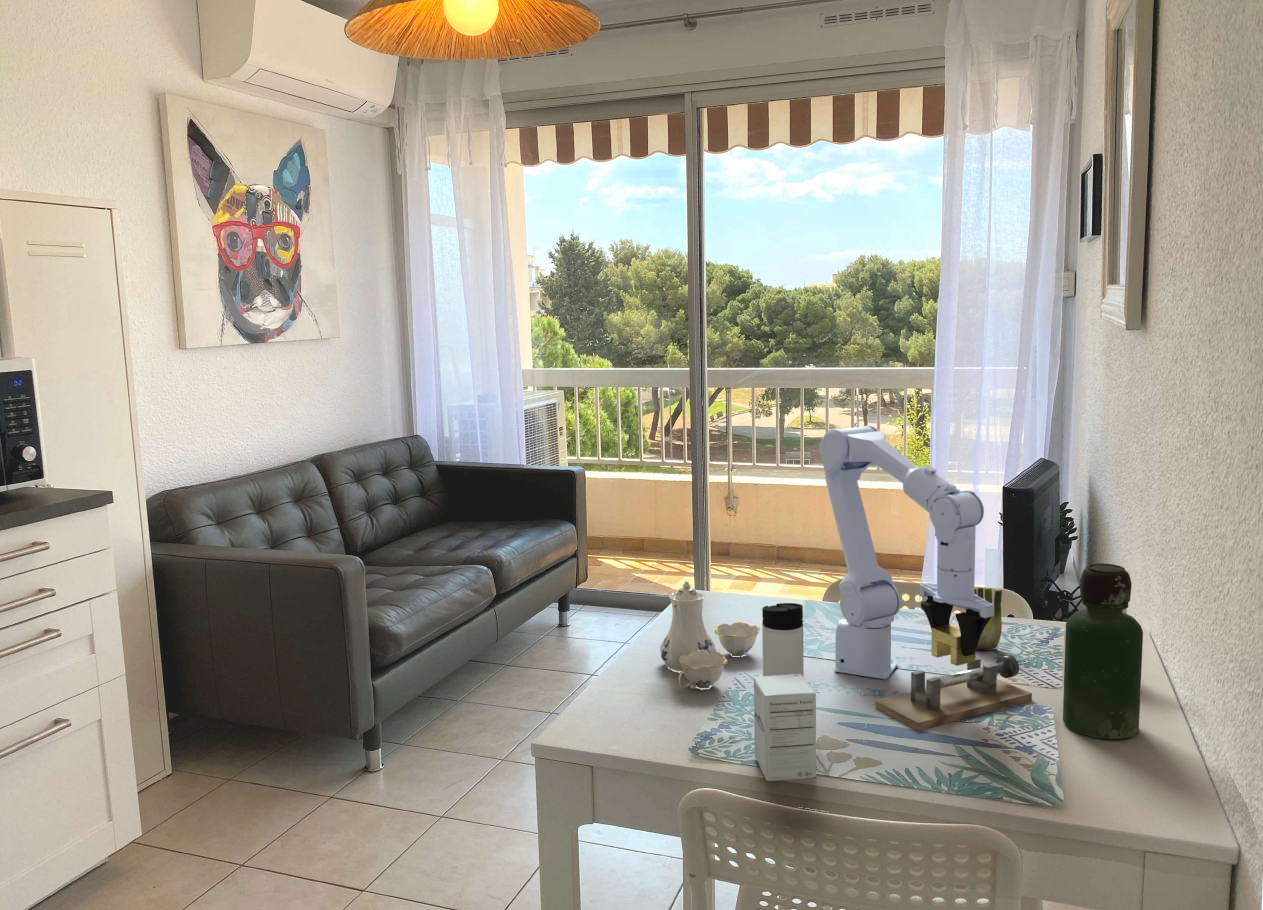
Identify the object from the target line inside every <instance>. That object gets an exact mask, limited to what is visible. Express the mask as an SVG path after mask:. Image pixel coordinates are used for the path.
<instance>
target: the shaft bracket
mask: <svg viewBox="0 0 1263 910" xmlns="http://www.w3.org/2000/svg"><path fill="white" fill-rule="evenodd" d="M995 664H996V663H989V664H985V665H982V659H981V658H979V657H976V656H975V662H970V663H966V665H967V666H966V671H967V670H971V669H975V668H980V667H983V678H982V679H978V680H974V681H970V682H966V683H962V684H958V685H954V686H950V687H946V688H941V679H940V678H938V677H937V676H934V677H930V678H926V672H925V671H923V670H921V669H919V670H915V671H911V672H910V692H906V693H903V694H897V695H894V696H889V697H886V698H882V699H877V700H875V701H874V703H875V705H874V707H875V709H876V710H879V711H881V712H882V713H883V714H886V715H888V716H889V717H891V718H894V719H896V720H897V721H899V722H901V723H903V724H905V725H906V726H908V727H910V728H912V729H913V730H916V731H921V730H925V729H929V728H932V727H937V726H939V725H943V724H948V723H951V722H954V721H958V720H959V721H960V720H963V719H966V718H970V717H973V716H977V715H981V714H986V713H988V712H993V711H997V710H1000V709H1004V708H1008V707H1011V706H1015V705H1019V704H1023V703H1027V702H1031V701H1033V693H1032V692H1029V691H1027V690H1025V689H1023V688H1020V687H1018V686H1016V685H1013V684H1010V683H1008V682H1005V681H1003V680H1001V679H998V675H997V665H995Z"/></svg>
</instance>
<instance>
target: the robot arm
mask: <svg viewBox="0 0 1263 910" xmlns="http://www.w3.org/2000/svg"><path fill="white" fill-rule="evenodd" d="M886 437H887V436H886V434H885V433H884V432H882V431H880V430H879V429H878V428H877V427H876V426H874V425H871V424H870V425H869V424H868V425H863V426H855V427H847V428H840V429H839V428H838V429H837V428H831V429H829V430H827V431H826V432H825V433H824V435H823V437H822V439H821V441H820V443H819V445H818V449H819V453H820V454H819V455H820V457H821V462H822V465H823V471H824V476H825V477H824V478H825V483H826V487H827V490H828V495H829V499H830V502H831V507H832V513H833V516H834V520H835V524H836V528H837V532H838V536H839V540H840V544H841V548H842V549H841V550H842V553H843V557H844V561H845V565H846V568H847V572H846V574H845V576H844V577H843V578H842V580H841V581H840V583H839V584H838V588H839V593H840V598H839V606H840V611H841V613H842V616H843V617H844V618H841V619H840V620H839V621H838V622H837V626H836V630H835V667H834V670H833V671H834V672H835V673H842V674H848V675H849V674H850V675H855V676H856V675H857V676H863V677H868V678H874V679H879V680H880V679H881V680H887V679H888V678H889V676H890V675H891V674H893V671H894V670H895V669H896V668H897V667H898V663H897V662H895V661H892V622H894V621H895V616H896V615H897V614H898V613H899V612H900V610H901V606H902V599H901V594H900V592H899V590H898V589H897V587H896V585H895V584H894V580H893V578H892V575H891V574H890V573H889V572H888V571H887V570H885V569H884V568H882V567H881V566H879V563H878V560H877V555H876V551H875V548H874V544H873V539H872V536H871V531H870V526H869V523H868V519H867V514H866V511H865V506H864V503H863V500H862V499H863V498H862V496H861V495H862V494H861V491H860V487H859V482H858V481H859V479H860V477H861V475H862V474H863V473H865V471H866V470H867V469H868V468H869V467H870V466H872V464H874V465H875V466H877V467H879V469H881V470H883V472H886V473H887V474H889V475H890V476H892V477H893V478H895V480H896V481H899V482H900V483H902V490H903V492H904V494H905V495H906V496H907V497H909V498H910V499H912V501H913V502H915V503H916V504H917V505H919V506H920V507H921V508H923V510H925V511H926V512H928V514H929V519H930V521H931V523H932V525H933V527H934V537H935V538H936V540H937V551H936V552H937V557H936V558H937V559H936V562H937V565H936V574H937V575H936V584H935V583H934V584H933V583H931V582H927V583H920V584H919V589H918V590H919V593H918V595H919V596H920V597H922V598H923V597H924V598H926V597H927V599H926V600H924V601H920V602H921V603H920V607H921V609H922V610H923V612H924V614H925V616H926V618H927V621H928V623H929V626H930V629H931V631H932V628H933V627H937V626H942V625H947V624H950V620H951V616H952V612H953V608H954V607H957V608H959V609H961V610H965V611H964V612H959V613H955V619H956V621H957V624H958V627H959V628H960V634H961V649H962V654H963V655H964V656H970V655H974V654H975V652H976V651H977V645H978V642H979V639H980V636H981V634H982V632H983V630H984V628H985V626H986V624H987V623H988V621H989V620H990V619H991V617H993V616H994V603H993V602H992V603H989V602H987V601H986V600H985V598H983V599H982V598H981V597H979V596H978V594H977V595H976V594H974V588H975V582H976V581H975V579H976V578H975V576H976V575H975V573H976V572H975V571H976V569H975V568H976V527H977V526H978V525H980V523H981V522H982V521H983V519H984V516H985V509H984V505H983V502H982V500H981V499H980V497H979V496H978V495H976V493H975V492H974V491H972V490H961V489H958V488H957V486H956V485H955V484H953V483H949V482H948V481H947V480H945V479H944V478H943V477H941V476H940V475H939V474H937V470H936V469H935V468H934V467H932V466H928V467H927V466H925V465H924V466H923V465H922V466H918V467H916V466H915V465H914V464H913V463H912V462H911V461H910V460H908V458H907V457H905V456H904V455H903V454H902V453H901V452H900V451H898V450H897V448H895V447H894V446H893V445H892V444H891V443H890V442H888V440H887V438H886ZM864 584H865V585H866V584H869V585H866V586H863V585H864ZM976 653H977V652H976Z"/></svg>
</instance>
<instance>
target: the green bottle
mask: <svg viewBox="0 0 1263 910" xmlns="http://www.w3.org/2000/svg"><path fill="white" fill-rule="evenodd" d="M1086 566H1087V567H1086V568H1084V569H1083V570H1082V573H1081V574H1080V575H1081V576H1080V578H1079V591H1080V592H1079V597H1080V598H1081V604H1082V605H1083V606H1084V607H1086V608H1084V609H1080V610H1077V611H1075V612H1074V613H1073V614H1072V615H1071V616H1070V617H1068V618H1067V620H1066V623H1065V637H1064V638H1065V640H1064V641H1065V642H1064V666H1063V667H1064V669H1063V671H1064V672H1063V675H1064V676H1063V700H1062V703H1063V704H1062V721H1063V722H1064V724H1065V725H1066V727H1068V728H1069V729H1070V730H1072V731H1075V732H1076V733H1079V734H1081V735H1085V736H1087V737H1092V738H1096V739H1103V740H1123V739H1127V738H1132V737H1134V736H1135V735H1137V734H1138V732H1139V730H1140V713H1141V712H1140V711H1141V689H1142V688H1141V685H1142V669H1143V668H1142V665H1143V664H1142V663H1143V662H1142V661H1143V660H1142V659H1143V644H1144V632H1143V628H1142V625H1141V624H1140V623H1139V621H1137V620H1136V619H1135V618H1134V616H1132V615H1130V614H1128V613H1127V614H1126V613H1123V612H1122V611H1123V610H1124V609H1126V610H1127V609H1128V608H1129V603H1130V602H1131V597H1132V596H1131V595H1132V594H1131V593H1132V585H1133V584H1132V579H1131V576H1130V573H1129V572H1128V571H1127V570H1126V568H1125V567H1123V566H1121V565H1118V564H1111V563H1091V564H1088V565H1086Z"/></svg>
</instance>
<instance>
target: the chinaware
mask: <svg viewBox="0 0 1263 910" xmlns="http://www.w3.org/2000/svg"><path fill="white" fill-rule="evenodd" d="M691 586H692V585H691V584H690V582H688V581H684V583H683V584H682V587H681V588H679V589H678V590H677V592H673V593H671V594H669V596H668V597H669V599H670V602H671V607H672V618H671V624H670V627H669V630H668V632H667V634H666V636H665V638H664V639H663V641H662V642H661V644H660V646H659V651H660V657H661V659H662V661H663V662H664V663H665V665H666V664H667V667H669V668H670V669H673V670H676V671H681V672H680V673H678V674H679V675H678V677H677V678H678V684H679V685H680V687H682V688H686V687H688V686H689V688H690V689H691V690H694V689H696V688H695V686H696V685H697V687H699V688H709V686H710V685H715V683H716V682H718V681H719V679H720V678H721V676H722V675H723V670H724V667H725V665H728V658H726V657H725V655H724V653H722V652H720V651H717V649H716V646H715V643H714V642H713V640H712V638H711V636H710V635H709V634H708V632H707V630H706V628H705V625H704V620H703V601H704V598H705V595H704V594H703V593H702V592H699V591H697V590H695V588H693V587H691ZM760 631H761V629H760V626H758V625H750V624H749V623H748V622H744V621H736V622H734V623H731V624H727V623H719V624H718V625H717V626H716V629H715V630H714V633H715V635H717V636H718V640H719V644H720V645H721V647H722V648H723V649H724V650H725V651H726V652H727V653H729V654H732V656H740V657H741V656H742V655H744V654H747V653H748V652H749V651H750V650H751V649H752V648H753V647H754V646H755V644H756V640H757V636H758V635H759V633H760ZM683 672H684V674H683ZM682 675H684V676H685V678H686V679H687V680H688V681H689V682H688V683H686V684H685V685H684V684H682Z"/></svg>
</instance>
